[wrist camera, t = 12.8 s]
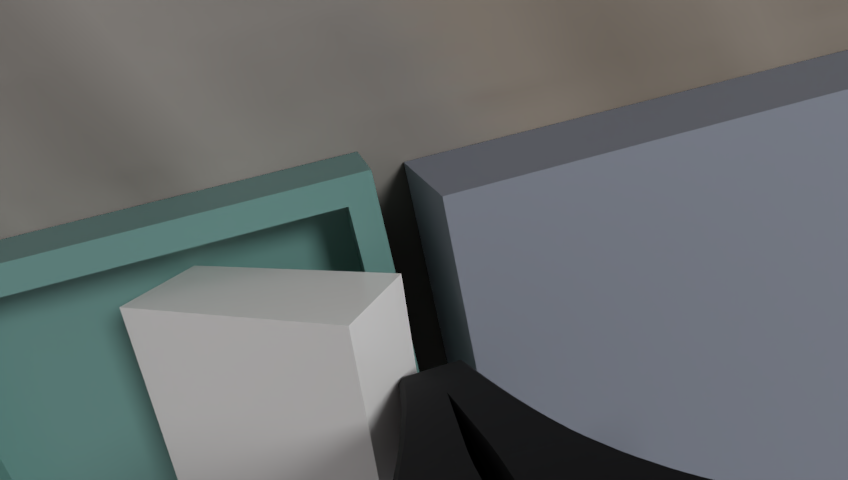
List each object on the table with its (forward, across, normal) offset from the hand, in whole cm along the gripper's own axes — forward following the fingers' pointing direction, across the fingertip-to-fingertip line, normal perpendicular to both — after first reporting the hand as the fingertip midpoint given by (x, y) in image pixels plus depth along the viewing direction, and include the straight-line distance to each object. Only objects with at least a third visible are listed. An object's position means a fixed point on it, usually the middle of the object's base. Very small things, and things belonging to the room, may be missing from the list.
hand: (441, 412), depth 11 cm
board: (+4, -8, +4) cm, 9 cm away
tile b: (+2, +2, 0) cm, 3 cm away
